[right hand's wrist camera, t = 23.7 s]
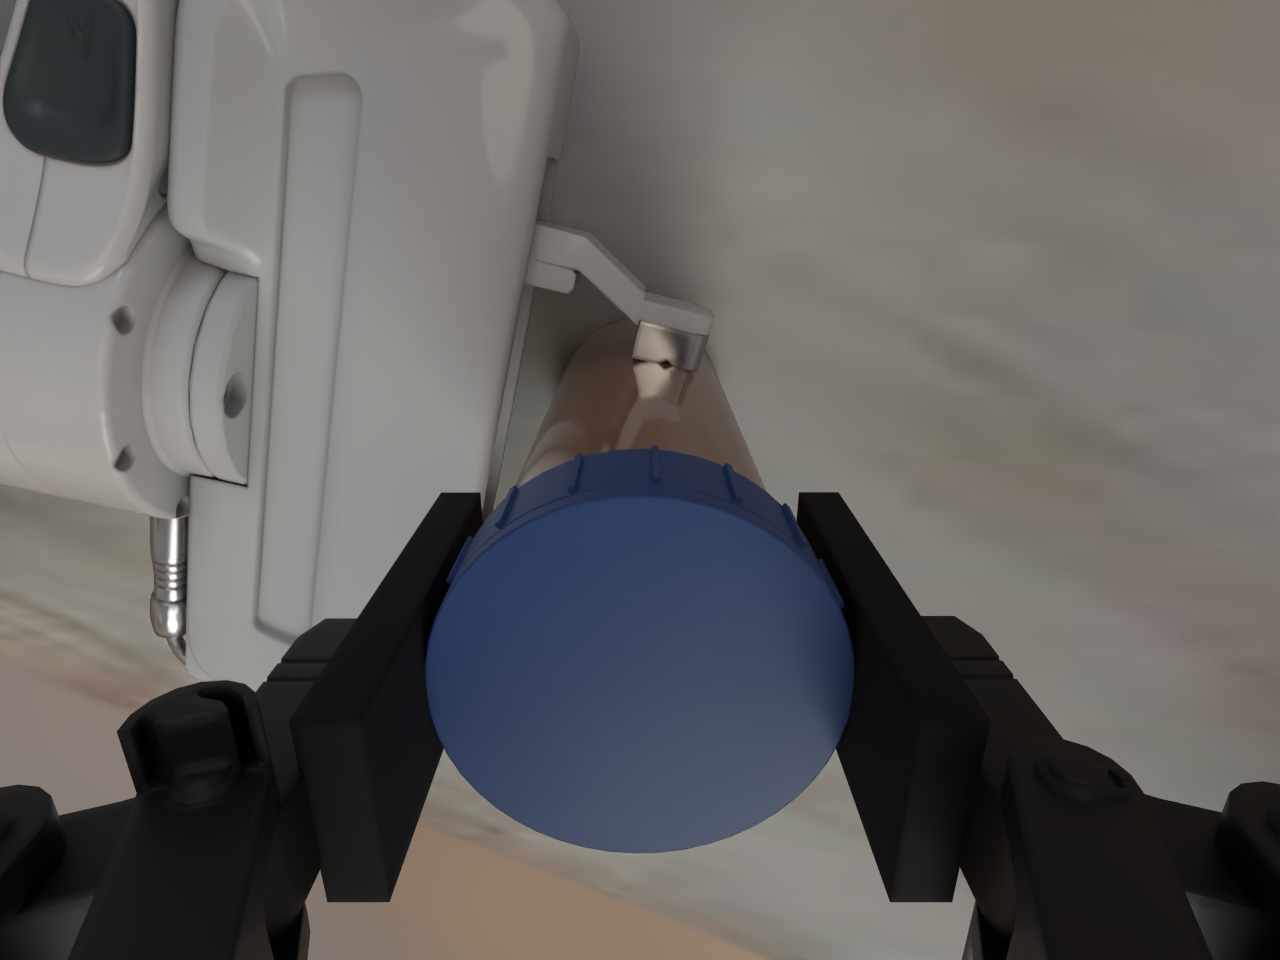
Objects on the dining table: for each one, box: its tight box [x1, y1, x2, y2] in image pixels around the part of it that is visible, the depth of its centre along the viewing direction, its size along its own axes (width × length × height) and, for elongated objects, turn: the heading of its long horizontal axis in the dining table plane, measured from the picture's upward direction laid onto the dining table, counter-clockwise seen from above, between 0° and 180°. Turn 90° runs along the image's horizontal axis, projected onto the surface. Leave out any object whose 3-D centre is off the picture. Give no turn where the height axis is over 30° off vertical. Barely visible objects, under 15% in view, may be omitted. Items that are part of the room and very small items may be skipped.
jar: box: [516, 319, 766, 491], centre depth 19 cm, size 6×6×15 cm
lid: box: [425, 445, 855, 853], centre depth 11 cm, size 6×6×2 cm
